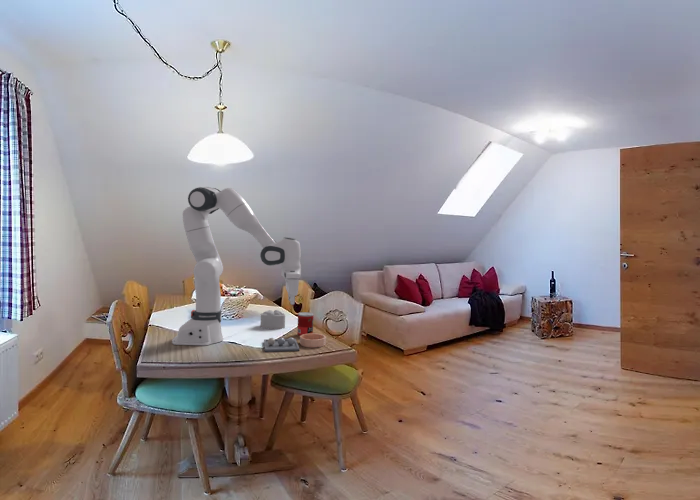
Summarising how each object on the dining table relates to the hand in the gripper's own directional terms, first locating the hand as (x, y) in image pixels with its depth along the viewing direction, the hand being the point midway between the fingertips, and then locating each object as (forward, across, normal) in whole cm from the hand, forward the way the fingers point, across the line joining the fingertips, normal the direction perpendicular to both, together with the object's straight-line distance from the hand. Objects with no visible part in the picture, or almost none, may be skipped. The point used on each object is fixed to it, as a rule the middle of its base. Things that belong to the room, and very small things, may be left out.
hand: (291, 302), depth 192 cm
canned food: (+20, -18, +9) cm, 29 cm away
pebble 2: (+18, +1, -5) cm, 18 cm away
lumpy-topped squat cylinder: (+20, -37, -6) cm, 43 cm away
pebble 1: (+17, +1, -9) cm, 20 cm away
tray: (+20, +1, -5) cm, 21 cm away
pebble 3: (+18, +2, 0) cm, 18 cm away
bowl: (+20, -1, +10) cm, 23 cm away
